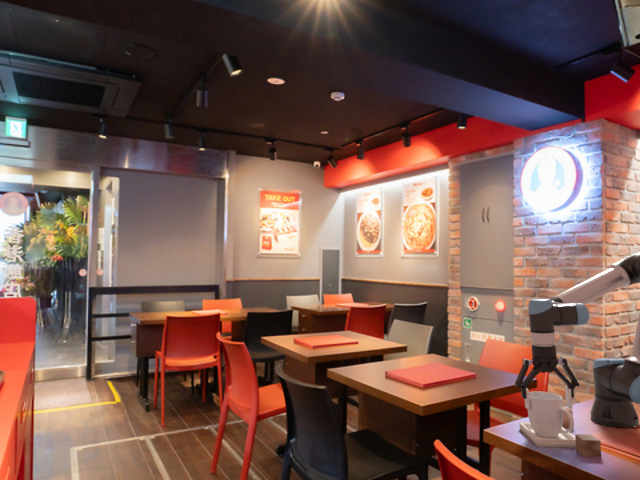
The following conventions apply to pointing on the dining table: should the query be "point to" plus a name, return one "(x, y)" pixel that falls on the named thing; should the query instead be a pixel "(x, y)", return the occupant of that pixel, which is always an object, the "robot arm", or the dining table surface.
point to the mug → (548, 414)
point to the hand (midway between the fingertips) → (548, 407)
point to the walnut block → (588, 445)
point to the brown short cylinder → (566, 419)
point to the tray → (559, 441)
